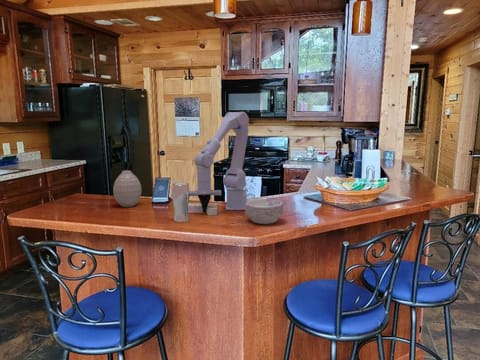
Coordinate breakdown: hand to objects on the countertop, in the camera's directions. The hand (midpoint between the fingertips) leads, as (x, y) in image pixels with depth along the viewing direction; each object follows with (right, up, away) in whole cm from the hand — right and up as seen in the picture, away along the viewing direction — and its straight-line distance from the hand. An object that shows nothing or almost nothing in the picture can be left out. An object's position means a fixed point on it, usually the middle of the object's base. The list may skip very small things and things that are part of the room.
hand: (204, 212), depth 160 cm
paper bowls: (+25, -3, -11) cm, 28 cm away
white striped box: (-2, 0, +6) cm, 6 cm away
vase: (-38, +1, +17) cm, 42 cm away
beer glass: (-8, -3, -9) cm, 13 cm away
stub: (+4, -1, 0) cm, 4 cm away
